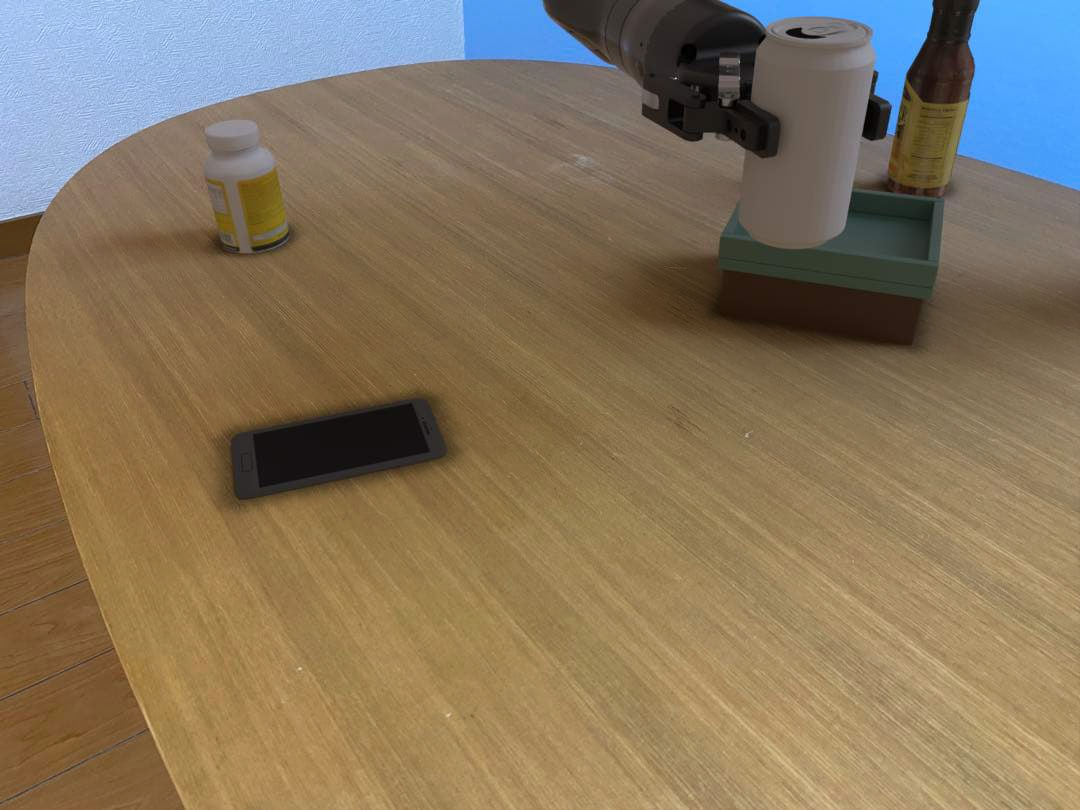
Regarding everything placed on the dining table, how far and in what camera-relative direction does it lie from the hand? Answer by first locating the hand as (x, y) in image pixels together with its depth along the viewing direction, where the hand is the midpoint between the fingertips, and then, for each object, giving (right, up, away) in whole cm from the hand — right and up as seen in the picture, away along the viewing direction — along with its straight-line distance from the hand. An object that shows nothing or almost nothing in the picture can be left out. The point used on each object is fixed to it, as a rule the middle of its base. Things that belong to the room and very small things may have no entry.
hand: (829, 131), depth 52 cm
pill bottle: (-44, 0, +40) cm, 59 cm away
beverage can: (-1, -5, +6) cm, 8 cm away
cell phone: (-30, -19, +12) cm, 37 cm away
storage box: (+8, -6, +28) cm, 30 cm away
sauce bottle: (+23, +7, +47) cm, 53 cm away
